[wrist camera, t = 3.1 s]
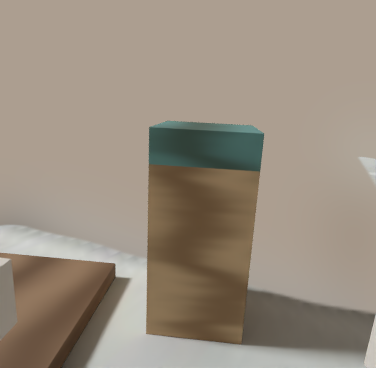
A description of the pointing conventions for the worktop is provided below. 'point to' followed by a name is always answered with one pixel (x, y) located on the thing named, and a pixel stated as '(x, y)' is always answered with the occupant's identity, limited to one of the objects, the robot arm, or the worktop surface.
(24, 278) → the walnut board
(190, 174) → the tan rectangular block
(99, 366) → the worktop surface
